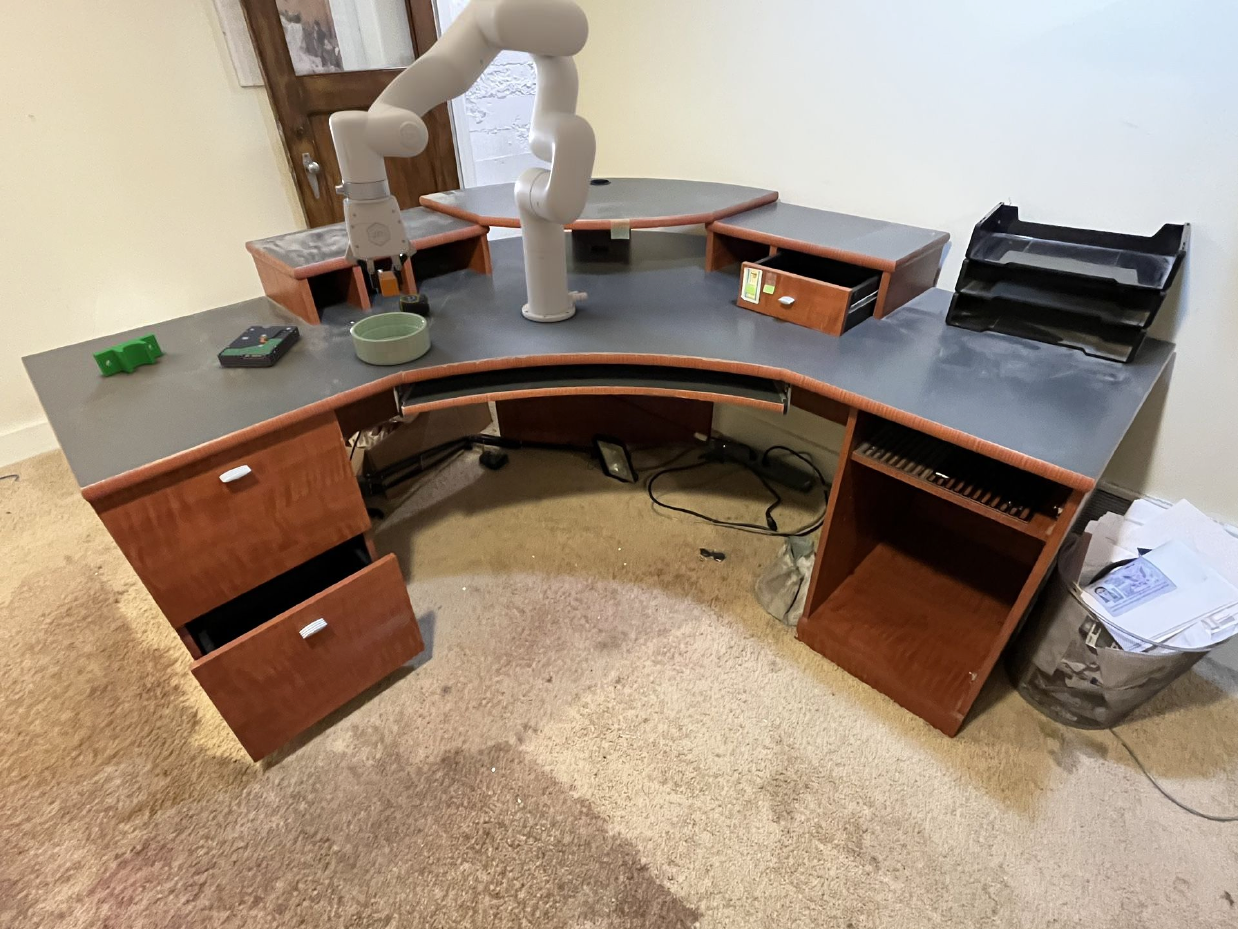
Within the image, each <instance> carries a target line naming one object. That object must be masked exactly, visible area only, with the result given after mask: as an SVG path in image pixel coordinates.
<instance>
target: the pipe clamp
mask: <svg viewBox="0 0 1238 929" xmlns="http://www.w3.org/2000/svg"><path fill="white" fill-rule="evenodd" d="M163 353H164V352H163V351H162V349H161V347H160V345H159V342H158V341H157V339H156V336H155V334H153V333H147V334H145V335H142V336H139V337H137V338H134V339H131V340H129V341H125V342H123V343H119V344H118V345H114V346H112V347H109V348H107V349H103V350H101V351H98V352H96V353H93V354H92V356H93V358H94V361H95V362H96V364H97V365H98V368H99V369H100V371H101V373H102V375H103V376H105V377H109V376H111V375H115V374H117V373H119V372H122V371H124V372H125V373H126V372H127V373H130V374H131V373H134V372H135V370H134V369H135V368H137V367H138V366H143V365H146V364H150V365H154V364H156V363H157V361H156V359H155V358H158V357H160V356H164V354H163ZM107 362H108V364H107Z"/></svg>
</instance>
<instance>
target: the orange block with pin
mask: <svg viewBox="0 0 1238 929" xmlns="http://www.w3.org/2000/svg"><path fill="white" fill-rule="evenodd" d="M377 273H378V276H379V282H380V286H381V291H382V293H381V294H382V296H383V297H392V296H398V295H400V294H401V292H400V291H399V289H398V284H397V279H396V277H395V275H394V274H393V272H392V270H388V271H383V269H378V270H377Z"/></svg>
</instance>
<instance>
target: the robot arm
mask: <svg viewBox="0 0 1238 929" xmlns="http://www.w3.org/2000/svg"><path fill="white" fill-rule="evenodd" d="M589 31H590V30H589V21H588V18H587V16H586V14H585V12H584V9H582V7H581V6H580V5H579V4H578V3H576V2H575V1H573V0H470V1H469V2H468V3H467V5H466V6H465V7H464V8H463V9H462V11H461V12H460V13H459V14H458V15H457V16H456V17H455V19H454V20H453V22H451V24H450V25H449V26H448V27H447V28H446V30H445V31H444V32H443V33H442V34H441V36H440V37H439V38H438V39H437V40H436V41H435V43H434V44H433V45H432V46H431V47H430V49H428V50H427V51H426V52H425V53H424V54H422V55H421V56H419V57H418V58H417V59H416V60H415V61H413V63H412V64H410V65H409V66H408V67H406V68H405V69H404V70H402V72H401V73H399V74H398V75H396V77H395V78H394V79H393V80H392V81H391V82H390V83H389V84H388V85H387V86H386V87H385V89H384V90H383V91H382V92H381V93H380V95H379V96H378V97H376V99H375V101H374V102H373V103H372V104H371V106H369V109H368V111H365V110H343V111H336V112H334V113H332V114H331V115H330V117H329V128H330V132H331V136H332V141H333V145H334V149H335V153H336V158H337V162H338V166H339V171H340V175H341V179H342V181H341V184H339V185H335V186H334V188H335V191H336V192H335V193H336V194H337V195H344V196H345V197H346V198H344V199H343V214H344V223H345V229H346V234H347V239H348V244H347V246H346V249H345V252H344V257H343V258H344V260H345V261H346V262H347V263H350V264H353V265H355V266H356V265H357V266H358V267H360V268H362V270H364V271H366V272H367V273H368V275H369V279H370V280H369V281H370V283H371V288H372V289H373V290H376V292H377V294H378V295H381V294H382V291H381V286H380V282H379V276H378V273H379V272H378V270H377V269H376V267H375V262H374V259H377V258H379V259H380V258H386V257H390V258H391V262H392V263H391V268H390V271H392V272H393V274H394V275H395V277H396V279H397V284H398V289H399V292H401V291H402V286H403V285H404V281H403V275H402V271H401V270H402V269H403V266H404V264H405V263H406V262H407V261H408V259H409V258H412V257H413V255H415V254H417V249H416V247H415V246H414V245H413V244H412V242H411V241H410V239H409V238H408V235H407V232H406V227H405V222H404V220H403V215H402V212H401V209H400V205H399V203H398V199H397V198H396V196H395V195H393V194H391V191H390V185H389V180H388V175H387V171H386V165H385V159H384V157H388V158H389V157H391V158H392V157H393V158H413V157H416V156H418V155H420V154H421V153H422V152H423V151H424V150H425V149H426V148H427V145H428V142H429V132H428V128H427V126H426V124H425V122H424V121H423V119H422V117H423V116H424V115H425V114H427V112H429V111H430V110H432V109H433V108H435V107H437V106H438V105H441V104H443V103H446V102H448V101H452V100H455V99H457V98H458V97H461V96H463V95H464V94H466V93H467V92H468V91H469V90H470V89H471V88H472V87H473V86H474V84H475V83H476V82H477V80H478V79H479V78H480V77H481V76H482V74H483V73H484V72H485V71H486V70H487V69H488V67H489V66H490V65H491V64H492V62H494V61H495V59H496V58H497V57H498V56H499V54H500V53H502V52H503V51H508V52H509V51H510V52H518V53H519V52H520V53H527V54H528V56H529V57H530V59H531V61H532V64H533V68H534V71H535V72H534V73H535V80H536V81H535V83H536V84H535V94H534V100H533V105H532V106H533V107H532V111H531V112H532V113H531V119H530V125H529V132H528V146H529V149H530V151H531V153H532V155H534V156H535V157H536V158H537V159H539V160H540V161H544V162H547V163H549V164H551V166H550V169H548V168H545V167H537V166H536V167H535V166H534V167H530V168H526V169H525V170H523V171H522V172H521V173H520V174H519V176H518V177H517V179H516V181H515V184H514V190H513V193H514V194H513V195H514V202H515V206H516V211H517V214H518V218H519V223H520V230H521V237H522V249H523V250H522V251H523V261H524V272H525V282H526V284H525V285H526V294H527V303H526V304H524V305H523V306H522V308H521V312H522V315H523V316H524V317H525V318H526V319H527V320H531V321H534V322H538V323H539V322H541V323H553V322H555V323H556V322H559V321H564V320H567V319H569V318H571V317H572V316H574V315H575V313H576V306H575V304H576V303H579V302H586V301H587V300H588V299H589V298H588V293H587V292H585V291H584V292H579V291H578V290H574V291H570V290H569V286H568V268H567V248H566V246H567V245H566V244H567V243H566V232H565V228H564V226H566V225H570V224H573V223H575V222H576V221H577V220H578V219H579V218H580V217H581V215H582V214H583V212H584V210H585V206H586V203H587V200H588V195H589V190H590V185H591V180H592V176H593V170H594V165H595V159H596V154H597V141H596V140H597V139H596V134H595V131H594V129H593V127H592V125H591V124H590V123H589V121H588V120H587V119H586V118H584V117H582V116H580V115H577V114H576V112H577V104H578V96H579V87H580V84H579V73H578V69H577V66H576V63H575V62H576V61H575V60H574V58H573V56H575V55H577V54H578V53H580V52H581V51H583V49H584V47H585V45H586V44H587V41H588V37H589V33H590V32H589Z"/></svg>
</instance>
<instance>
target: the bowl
mask: <svg viewBox="0 0 1238 929" xmlns="http://www.w3.org/2000/svg"><path fill="white" fill-rule="evenodd" d="M349 331H350V336H351V338H352V342H353V347H354V350H355V354H356V357H357V358H359V359H360V360H361V361H363V362H365V363H367V364H370V365H377V366H394V365H400V364H405V363H408V362H412V361H414V360H416V359H419V358H421V357H422V356H423V355H425V353H427V352H428V351H429V349H430V348H431V344H432V343H431V338H430V333H429V328H428V322H427V320H426V318H425V317H423V316H422V315H417V314H413V313H405V312H401V311H399V312H395V311H394V312H386V313H385V312H384V313H380V314H374V315H370V316H368V317H365V318H363V319H361V320H358V321H357V322H356V323H354V325H352V326H351V329H350V330H349Z"/></svg>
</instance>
